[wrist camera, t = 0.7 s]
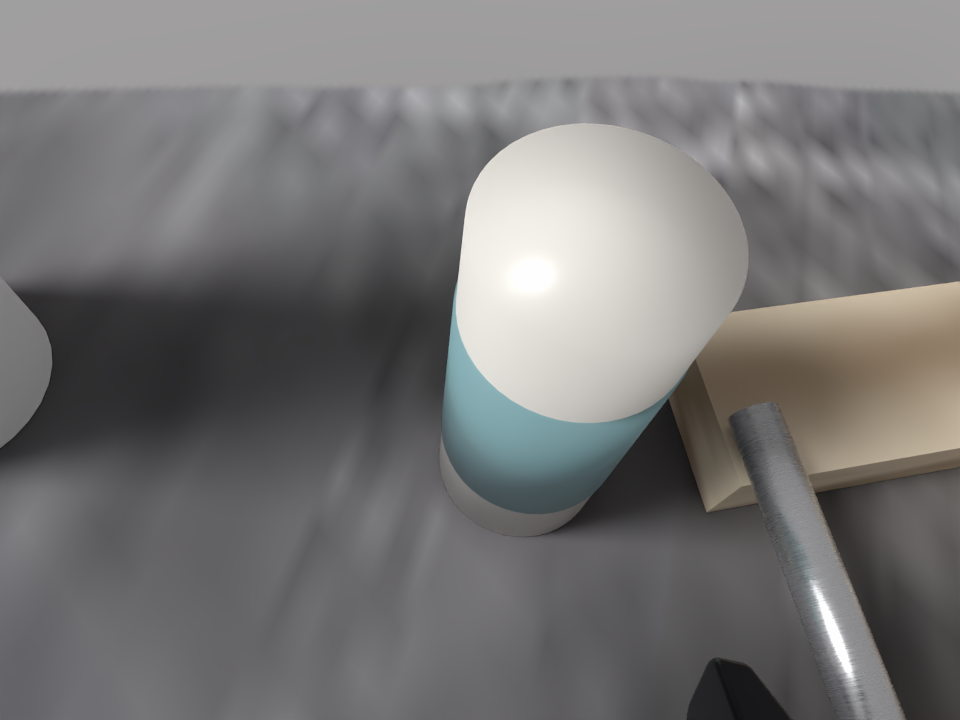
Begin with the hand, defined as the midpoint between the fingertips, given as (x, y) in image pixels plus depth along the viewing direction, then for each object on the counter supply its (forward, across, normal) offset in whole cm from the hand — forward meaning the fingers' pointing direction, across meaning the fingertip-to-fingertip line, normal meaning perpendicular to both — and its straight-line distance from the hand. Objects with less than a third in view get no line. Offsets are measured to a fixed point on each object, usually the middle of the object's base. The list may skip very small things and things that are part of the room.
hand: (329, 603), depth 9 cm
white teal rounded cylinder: (+15, -3, +8) cm, 17 cm away
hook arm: (+9, -12, +8) cm, 17 cm away
